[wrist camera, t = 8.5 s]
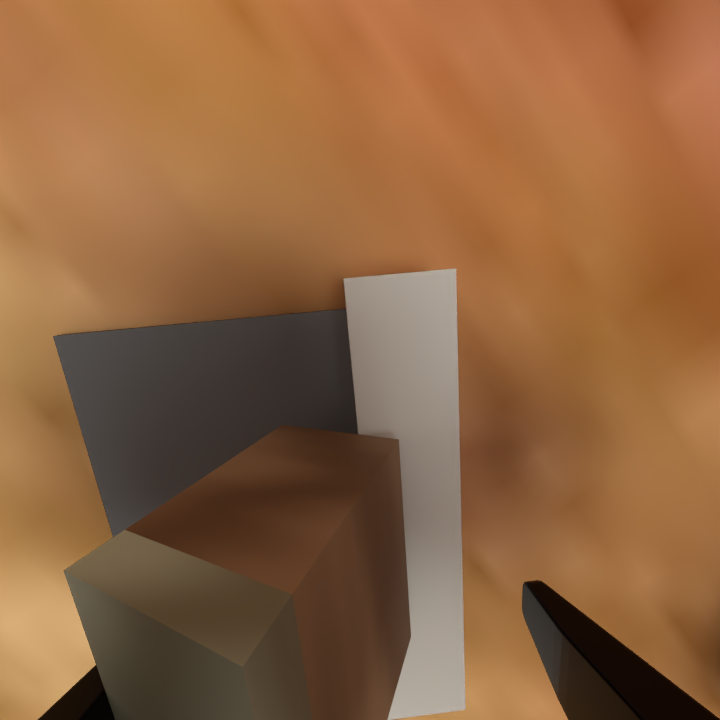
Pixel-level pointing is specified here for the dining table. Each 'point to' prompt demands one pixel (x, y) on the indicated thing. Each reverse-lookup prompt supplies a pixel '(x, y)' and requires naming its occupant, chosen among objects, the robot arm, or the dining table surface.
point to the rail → (418, 462)
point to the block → (258, 588)
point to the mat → (200, 397)
